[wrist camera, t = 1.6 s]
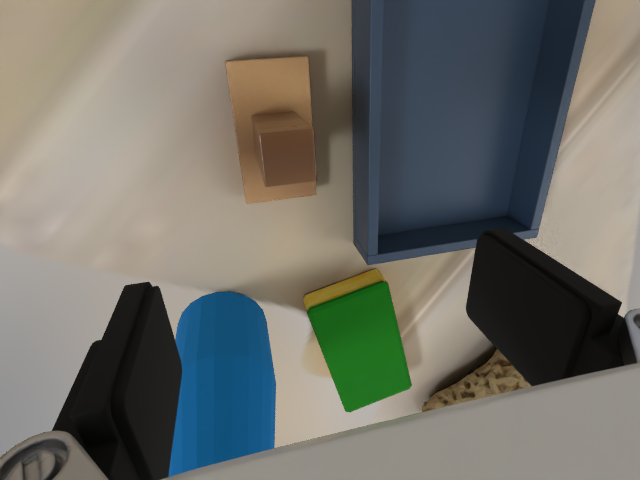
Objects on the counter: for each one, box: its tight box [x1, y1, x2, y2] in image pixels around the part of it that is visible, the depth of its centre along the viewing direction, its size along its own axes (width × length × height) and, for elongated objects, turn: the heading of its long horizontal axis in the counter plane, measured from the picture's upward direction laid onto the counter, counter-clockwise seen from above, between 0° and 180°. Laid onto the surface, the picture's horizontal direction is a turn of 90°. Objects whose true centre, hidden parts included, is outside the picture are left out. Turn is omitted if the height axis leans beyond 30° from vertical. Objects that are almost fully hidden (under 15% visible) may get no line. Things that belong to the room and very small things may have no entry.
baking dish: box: [352, 0, 595, 265], centre depth 25 cm, size 26×15×4 cm, turn 3°
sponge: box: [422, 349, 532, 412], centre depth 40 cm, size 13×8×20 cm
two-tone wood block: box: [225, 56, 317, 204], centre depth 23 cm, size 9×5×8 cm, turn 3°
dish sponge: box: [303, 269, 412, 412], centre depth 35 cm, size 7×14×2 cm, turn 16°
